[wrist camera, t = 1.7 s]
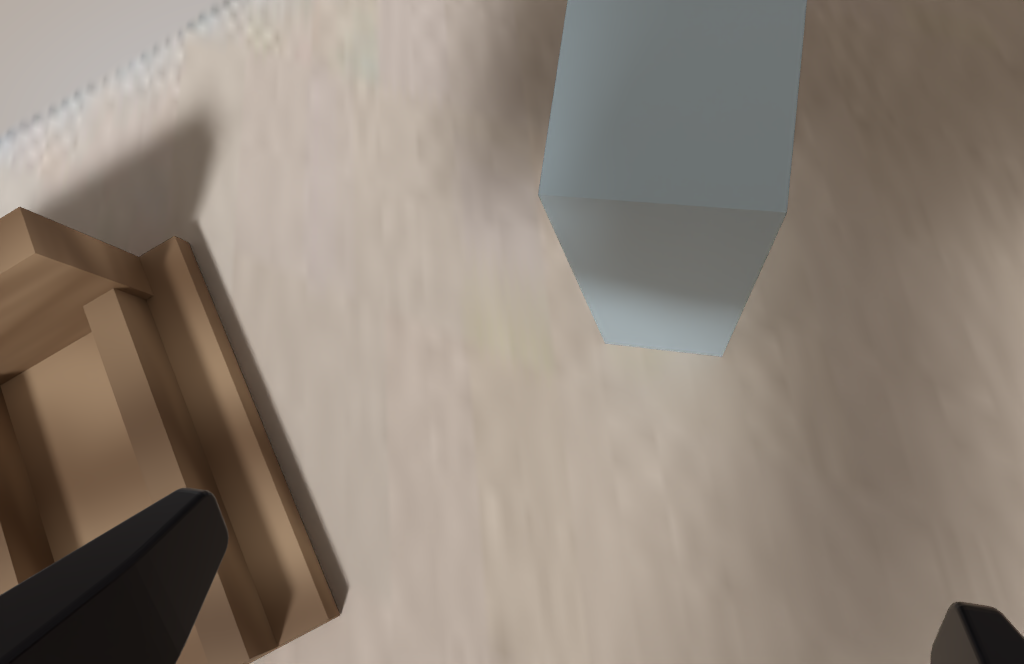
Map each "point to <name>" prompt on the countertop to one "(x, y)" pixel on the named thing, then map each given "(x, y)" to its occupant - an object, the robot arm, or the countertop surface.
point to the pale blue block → (672, 160)
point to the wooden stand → (140, 429)
